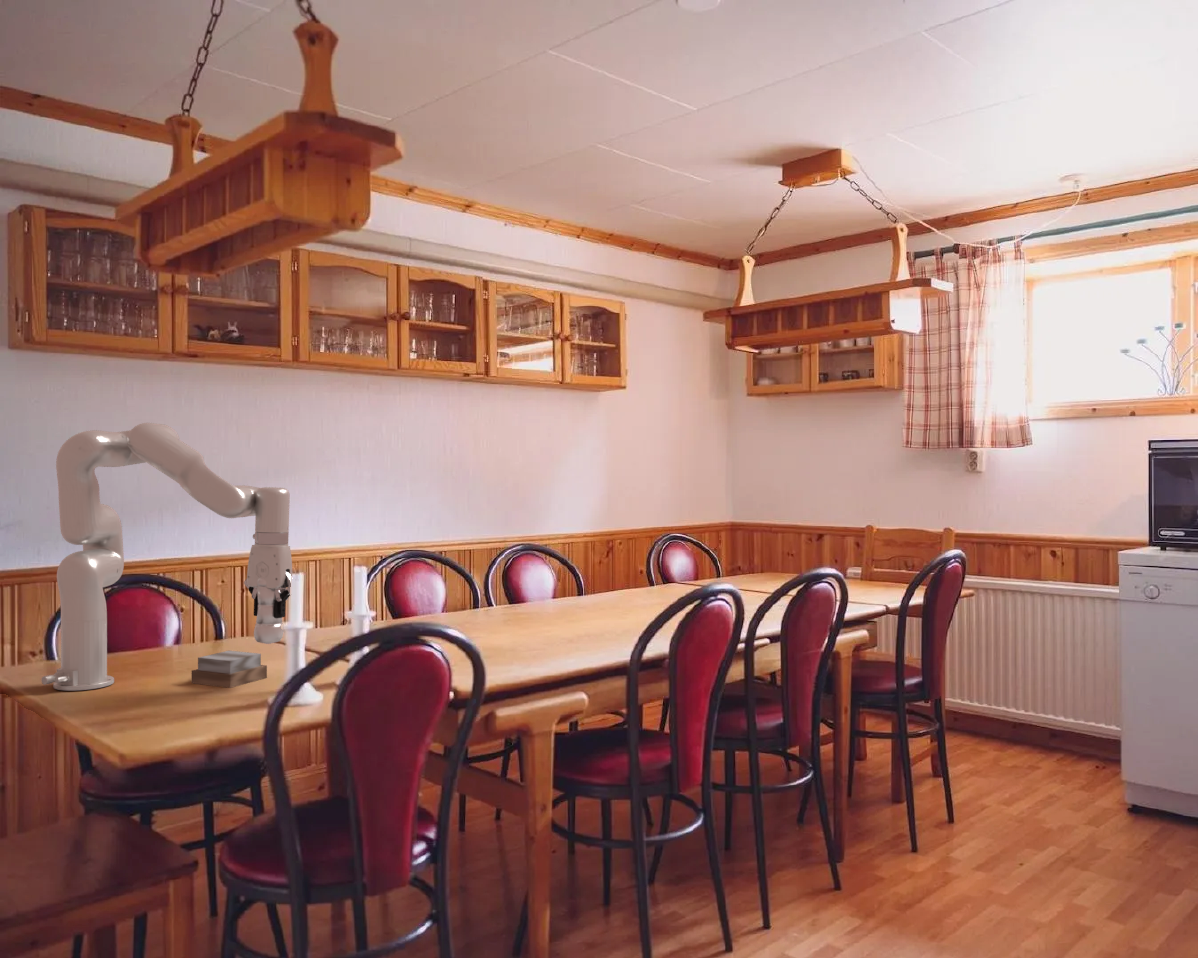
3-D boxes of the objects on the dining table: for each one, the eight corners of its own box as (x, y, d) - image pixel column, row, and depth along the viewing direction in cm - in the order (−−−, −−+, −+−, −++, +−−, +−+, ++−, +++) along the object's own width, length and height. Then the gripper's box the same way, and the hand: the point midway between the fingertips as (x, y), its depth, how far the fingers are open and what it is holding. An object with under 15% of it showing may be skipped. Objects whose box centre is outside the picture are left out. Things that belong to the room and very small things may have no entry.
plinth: (230, 687, 224) (230, 662, 224) (191, 683, 228) (191, 658, 228) (266, 677, 235) (266, 653, 235) (229, 673, 240) (229, 649, 239)
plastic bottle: (248, 642, 226) (251, 557, 226) (275, 639, 231) (278, 556, 231) (260, 646, 222) (263, 560, 222) (288, 643, 227) (291, 559, 226)
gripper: (231, 538, 226) (229, 615, 226) (289, 542, 220) (287, 621, 220) (254, 536, 233) (252, 611, 233) (311, 540, 226) (309, 617, 227)
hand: (269, 615), depth 226 cm, fingers closed on plastic bottle, 5 cm apart
